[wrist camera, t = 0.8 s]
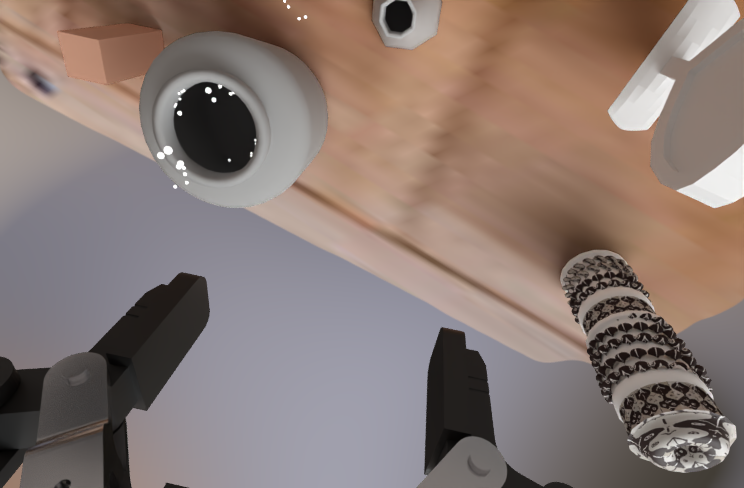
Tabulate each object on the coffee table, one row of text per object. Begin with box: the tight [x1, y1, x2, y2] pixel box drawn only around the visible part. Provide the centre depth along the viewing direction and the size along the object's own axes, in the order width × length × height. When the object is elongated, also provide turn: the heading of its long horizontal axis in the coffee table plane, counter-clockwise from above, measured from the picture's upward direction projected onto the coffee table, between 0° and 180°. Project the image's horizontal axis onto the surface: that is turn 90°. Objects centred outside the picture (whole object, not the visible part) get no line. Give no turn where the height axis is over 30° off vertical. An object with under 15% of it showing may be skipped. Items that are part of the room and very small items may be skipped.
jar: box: [139, 0, 328, 208], centre depth 36 cm, size 19×15×25 cm
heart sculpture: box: [608, 0, 744, 208], centre depth 32 cm, size 16×5×18 cm, turn 158°
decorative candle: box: [560, 250, 736, 472], centre depth 43 cm, size 9×9×25 cm
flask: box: [372, 0, 442, 50], centre depth 36 cm, size 7×7×10 cm
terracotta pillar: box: [57, 23, 164, 85], centre depth 42 cm, size 4×4×10 cm
